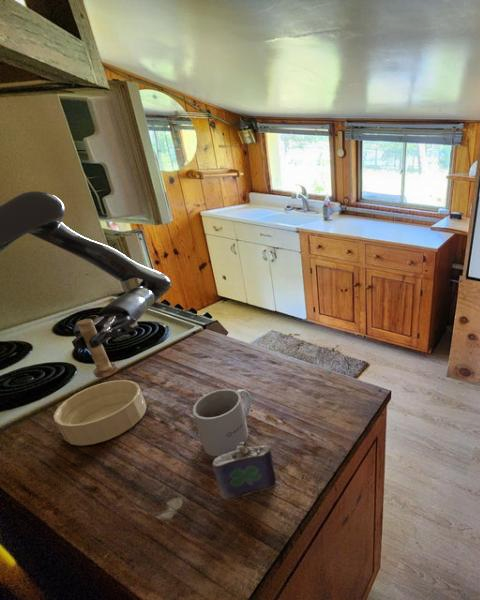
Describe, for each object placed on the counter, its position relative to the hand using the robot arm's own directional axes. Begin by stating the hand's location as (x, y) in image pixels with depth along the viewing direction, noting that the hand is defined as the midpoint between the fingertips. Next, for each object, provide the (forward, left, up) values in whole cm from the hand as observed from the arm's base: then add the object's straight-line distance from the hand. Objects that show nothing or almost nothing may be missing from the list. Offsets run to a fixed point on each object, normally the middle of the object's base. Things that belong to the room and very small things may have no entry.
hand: (83, 345), depth 74 cm
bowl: (+6, -10, -14) cm, 19 cm away
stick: (0, +3, -10) cm, 10 cm away
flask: (+40, -32, -14) cm, 53 cm away
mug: (+34, -18, -14) cm, 41 cm away
